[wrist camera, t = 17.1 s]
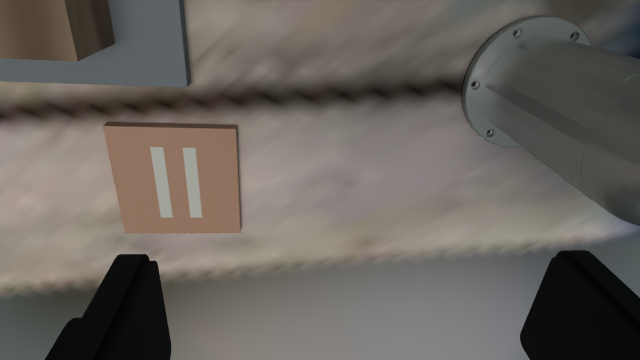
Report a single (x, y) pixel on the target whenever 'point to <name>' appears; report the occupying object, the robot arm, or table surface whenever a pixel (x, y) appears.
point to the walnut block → (54, 29)
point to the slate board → (122, 51)
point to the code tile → (176, 177)
